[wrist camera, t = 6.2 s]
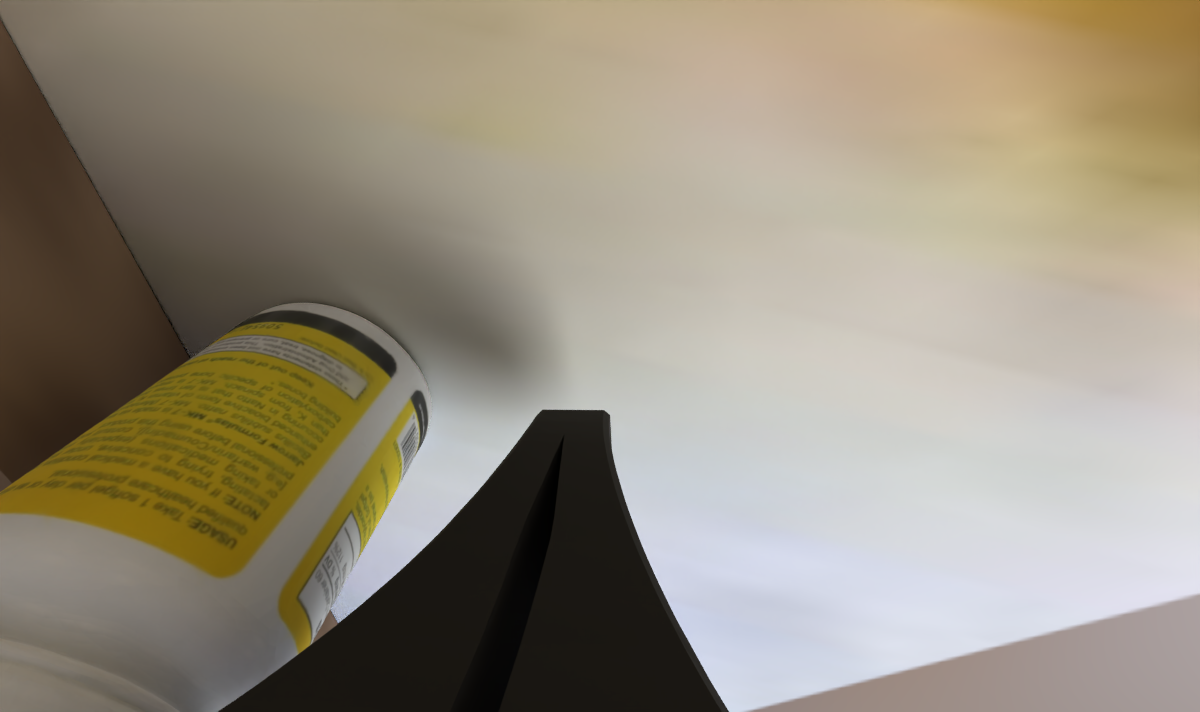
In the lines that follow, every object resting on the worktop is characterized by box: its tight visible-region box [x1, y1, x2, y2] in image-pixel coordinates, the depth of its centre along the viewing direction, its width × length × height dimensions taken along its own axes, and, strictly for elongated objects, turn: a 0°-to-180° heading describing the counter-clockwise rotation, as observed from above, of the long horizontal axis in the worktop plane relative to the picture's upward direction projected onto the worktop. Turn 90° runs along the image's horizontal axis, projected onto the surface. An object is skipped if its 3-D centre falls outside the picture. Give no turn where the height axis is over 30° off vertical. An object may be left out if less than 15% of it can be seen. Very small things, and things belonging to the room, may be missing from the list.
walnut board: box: [0, 20, 338, 643], centre depth 11 cm, size 22×3×4 cm, turn 2°
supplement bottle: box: [0, 303, 432, 712], centre depth 9 cm, size 5×5×8 cm
